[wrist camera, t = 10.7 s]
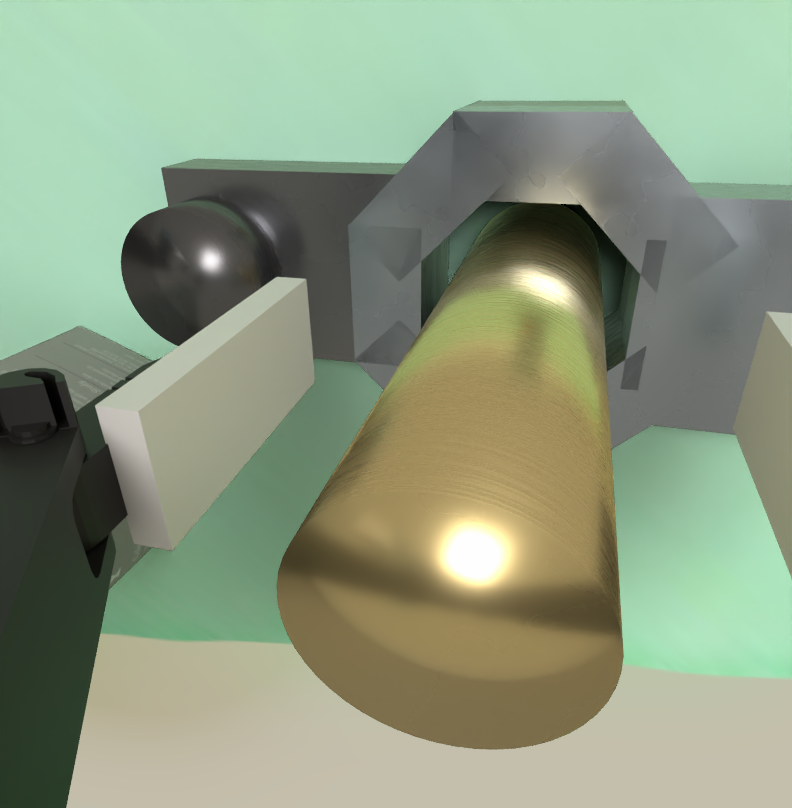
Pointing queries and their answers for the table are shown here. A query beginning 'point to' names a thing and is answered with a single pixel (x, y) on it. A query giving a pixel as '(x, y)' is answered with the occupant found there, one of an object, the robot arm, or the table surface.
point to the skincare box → (88, 397)
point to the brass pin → (477, 510)
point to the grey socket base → (445, 210)
